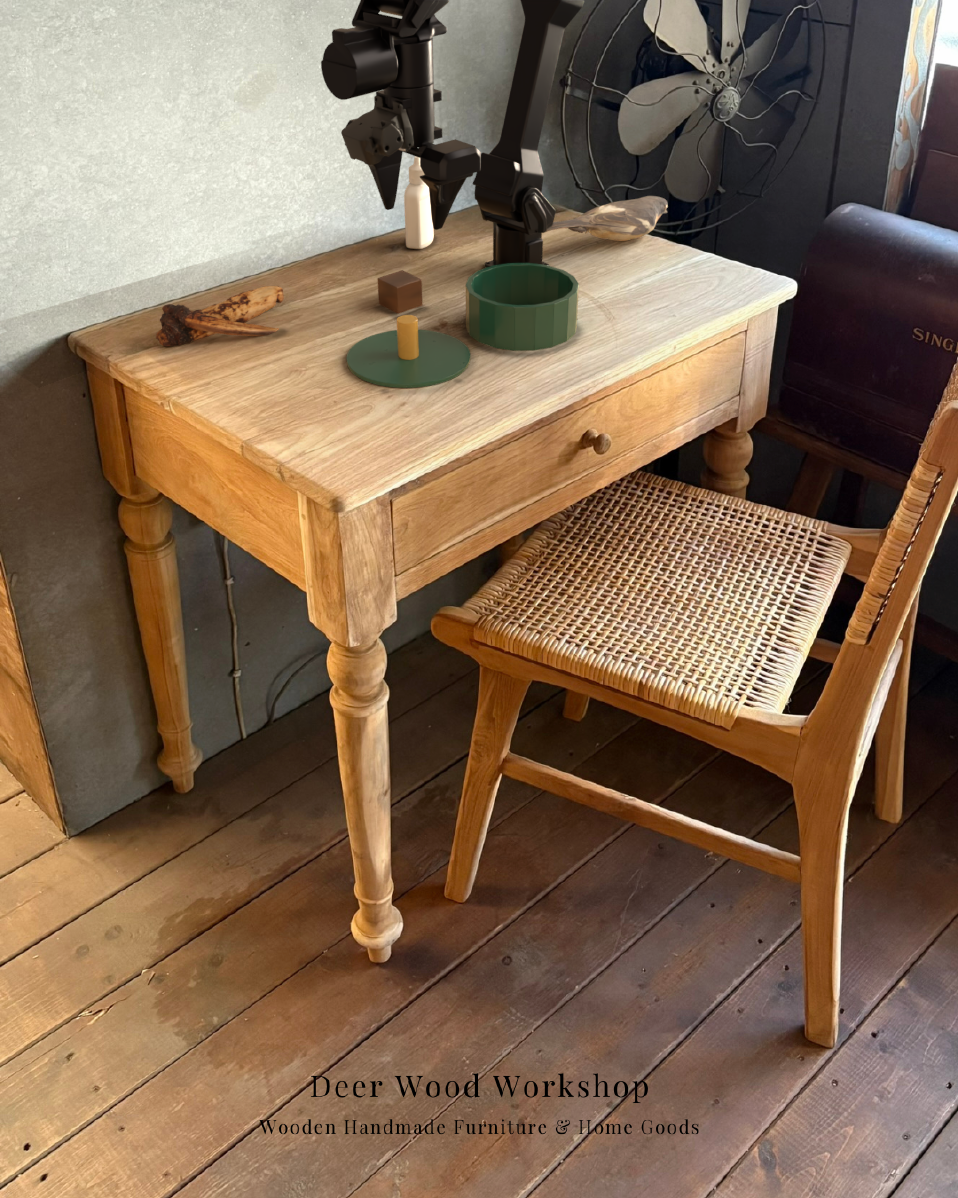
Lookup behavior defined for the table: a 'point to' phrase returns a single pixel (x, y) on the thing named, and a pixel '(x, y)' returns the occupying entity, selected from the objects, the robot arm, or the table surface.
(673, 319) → the table surface
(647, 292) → the table surface
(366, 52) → the robot arm
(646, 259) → the table surface
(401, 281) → the block
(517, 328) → the tin
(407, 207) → the eye dropper bottle
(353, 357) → the lid
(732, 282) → the table surface
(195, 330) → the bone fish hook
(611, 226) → the decorative bird
